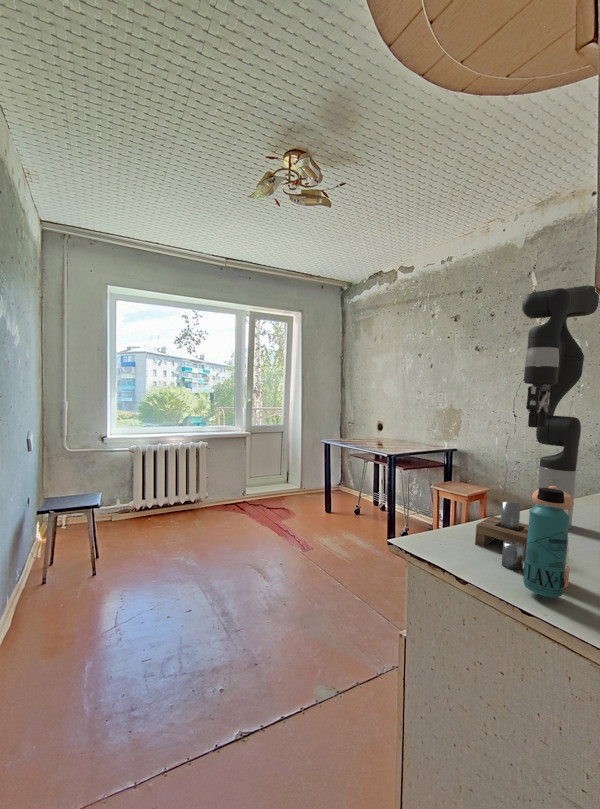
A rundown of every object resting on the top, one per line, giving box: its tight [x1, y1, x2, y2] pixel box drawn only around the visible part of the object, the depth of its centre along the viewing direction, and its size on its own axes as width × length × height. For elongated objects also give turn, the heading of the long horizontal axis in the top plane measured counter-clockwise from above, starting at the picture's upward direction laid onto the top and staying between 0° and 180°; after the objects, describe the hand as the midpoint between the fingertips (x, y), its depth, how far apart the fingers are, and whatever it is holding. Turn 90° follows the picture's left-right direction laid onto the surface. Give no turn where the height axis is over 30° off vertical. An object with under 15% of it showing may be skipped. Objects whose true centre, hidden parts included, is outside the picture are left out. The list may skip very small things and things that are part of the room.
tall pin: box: [499, 499, 521, 548], centre depth 94 cm, size 4×4×11 cm
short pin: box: [501, 541, 525, 572], centre depth 81 cm, size 4×4×5 cm
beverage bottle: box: [522, 488, 570, 598], centre depth 69 cm, size 6×7×20 cm
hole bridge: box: [474, 515, 529, 560], centre depth 94 cm, size 12×12×5 cm
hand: (536, 426), depth 100 cm, fingers open, 8 cm apart
